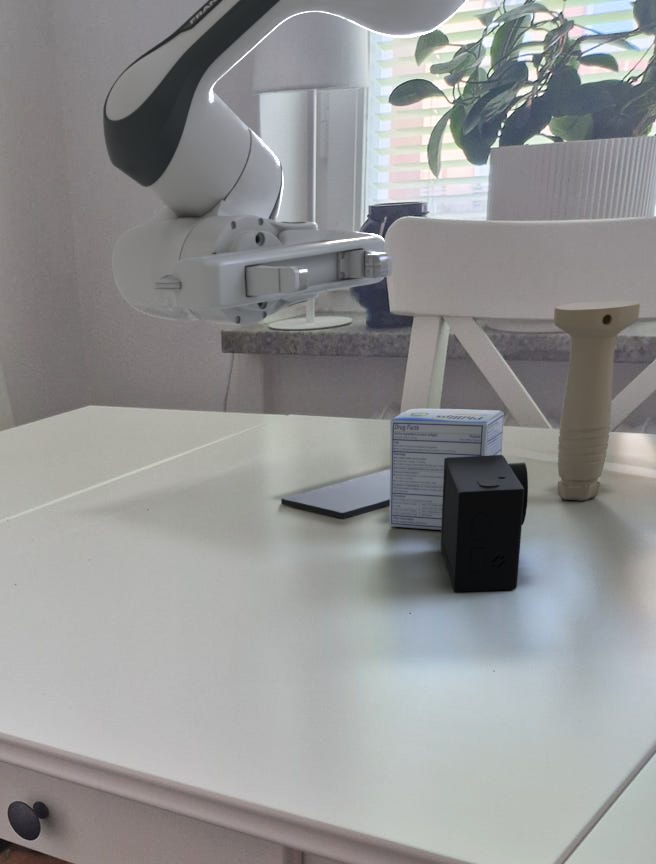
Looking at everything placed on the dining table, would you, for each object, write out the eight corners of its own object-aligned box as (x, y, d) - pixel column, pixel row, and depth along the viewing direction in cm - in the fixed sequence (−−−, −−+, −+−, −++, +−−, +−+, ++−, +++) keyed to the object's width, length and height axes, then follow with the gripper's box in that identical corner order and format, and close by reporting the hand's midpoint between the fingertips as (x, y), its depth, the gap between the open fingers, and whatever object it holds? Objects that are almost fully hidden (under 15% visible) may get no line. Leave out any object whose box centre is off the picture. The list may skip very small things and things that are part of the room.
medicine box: (499, 520, 95) (506, 409, 91) (481, 535, 92) (487, 421, 87) (407, 514, 99) (410, 406, 94) (387, 528, 96) (389, 417, 91)
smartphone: (391, 473, 111) (391, 468, 111) (455, 485, 106) (455, 480, 105) (281, 504, 105) (280, 498, 104) (343, 518, 99) (342, 513, 99)
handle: (625, 500, 97) (649, 304, 90) (549, 507, 97) (567, 311, 90) (604, 487, 101) (625, 298, 94) (531, 493, 101) (546, 305, 94)
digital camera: (534, 590, 80) (543, 486, 76) (454, 593, 81) (459, 491, 77) (512, 546, 89) (520, 452, 85) (440, 549, 89) (444, 456, 86)
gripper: (139, 244, 98) (244, 242, 88) (319, 220, 108) (431, 216, 98) (146, 325, 101) (248, 333, 91) (320, 295, 111) (429, 298, 101)
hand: (345, 272), depth 94 cm, fingers open, 8 cm apart
